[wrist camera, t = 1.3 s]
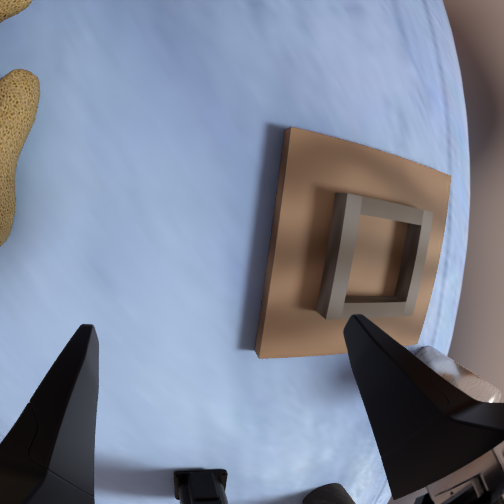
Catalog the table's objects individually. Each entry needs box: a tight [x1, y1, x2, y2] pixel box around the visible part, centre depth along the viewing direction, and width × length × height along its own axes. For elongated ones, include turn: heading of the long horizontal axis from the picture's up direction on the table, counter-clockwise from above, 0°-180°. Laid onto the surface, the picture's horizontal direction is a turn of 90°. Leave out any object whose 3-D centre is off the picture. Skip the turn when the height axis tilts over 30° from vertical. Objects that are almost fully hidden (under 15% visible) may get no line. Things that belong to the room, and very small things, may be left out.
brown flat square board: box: [255, 127, 451, 359], centre depth 28 cm, size 20×20×4 cm
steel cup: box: [415, 346, 501, 403], centre depth 30 cm, size 6×6×13 cm
